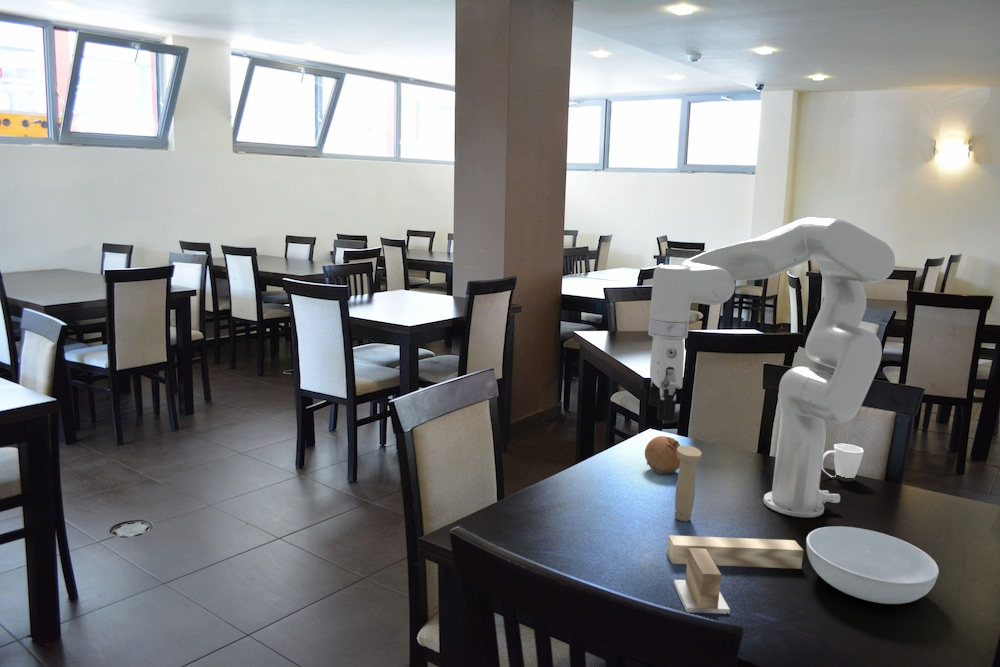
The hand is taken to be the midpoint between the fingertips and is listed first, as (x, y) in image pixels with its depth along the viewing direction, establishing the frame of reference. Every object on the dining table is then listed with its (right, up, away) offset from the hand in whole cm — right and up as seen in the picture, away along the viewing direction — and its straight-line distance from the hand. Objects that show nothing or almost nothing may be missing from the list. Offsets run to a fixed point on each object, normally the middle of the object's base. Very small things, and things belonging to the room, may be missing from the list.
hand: (660, 412), depth 149 cm
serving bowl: (+32, -29, -17) cm, 47 cm away
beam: (+11, -27, -10) cm, 31 cm away
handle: (+6, -23, +8) cm, 26 cm away
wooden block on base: (+2, -29, -24) cm, 37 cm away
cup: (+52, -20, +36) cm, 67 cm away
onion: (+8, -19, +36) cm, 41 cm away
